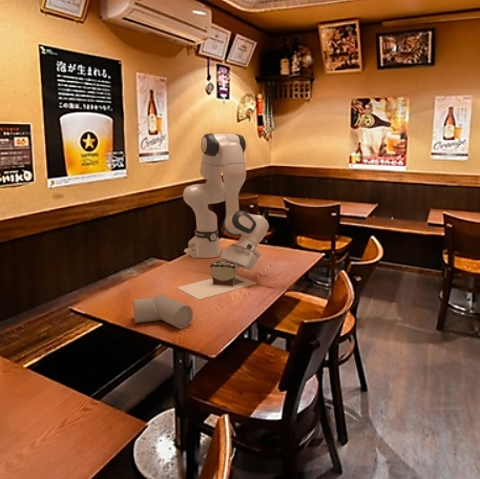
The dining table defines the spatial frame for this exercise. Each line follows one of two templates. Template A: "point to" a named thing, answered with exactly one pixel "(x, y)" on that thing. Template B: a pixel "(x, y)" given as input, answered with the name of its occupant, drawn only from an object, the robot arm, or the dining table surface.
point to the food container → (223, 272)
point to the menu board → (213, 287)
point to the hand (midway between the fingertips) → (229, 272)
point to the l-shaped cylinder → (162, 311)
